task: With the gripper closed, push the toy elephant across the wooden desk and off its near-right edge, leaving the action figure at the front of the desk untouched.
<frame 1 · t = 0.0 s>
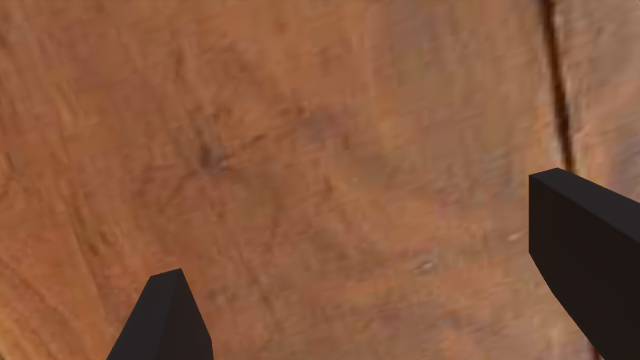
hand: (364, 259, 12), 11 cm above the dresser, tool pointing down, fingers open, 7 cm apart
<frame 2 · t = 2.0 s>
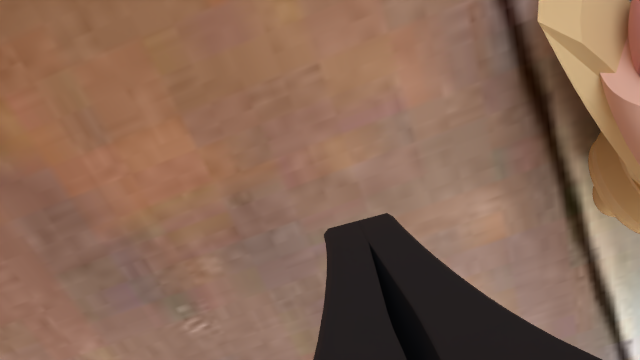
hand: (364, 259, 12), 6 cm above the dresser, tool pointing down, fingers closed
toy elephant: (630, 42, 18), on the dresser
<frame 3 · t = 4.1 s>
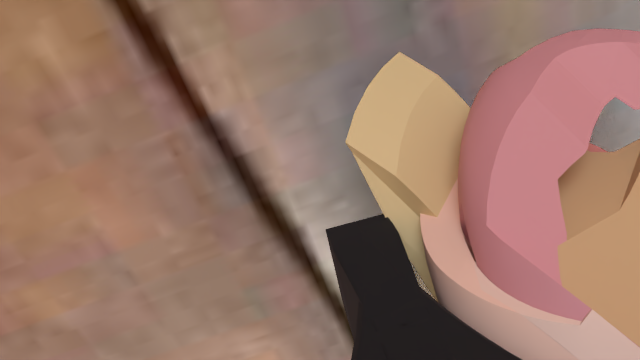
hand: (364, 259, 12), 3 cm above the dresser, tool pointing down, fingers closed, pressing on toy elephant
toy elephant: (491, 155, 15), on the dresser, touching gripper
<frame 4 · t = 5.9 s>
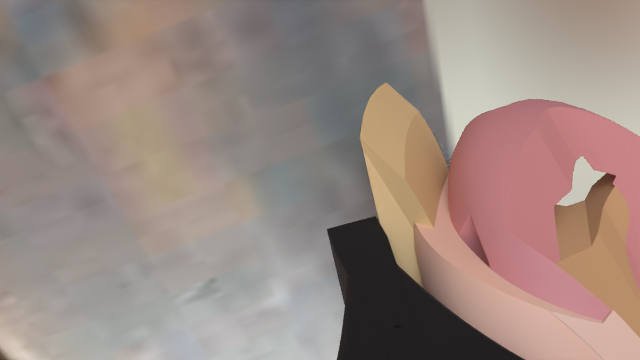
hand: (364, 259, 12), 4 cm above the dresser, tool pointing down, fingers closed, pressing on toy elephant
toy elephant: (424, 207, 16), on the dresser, touching gripper
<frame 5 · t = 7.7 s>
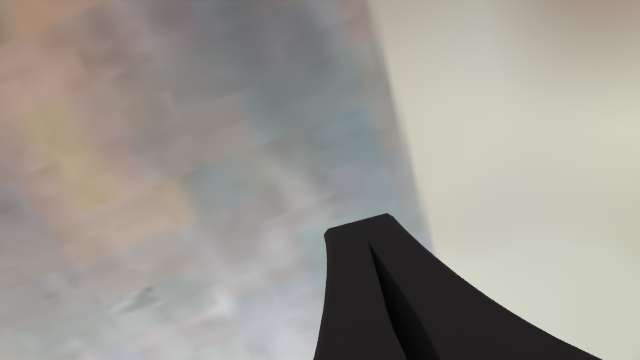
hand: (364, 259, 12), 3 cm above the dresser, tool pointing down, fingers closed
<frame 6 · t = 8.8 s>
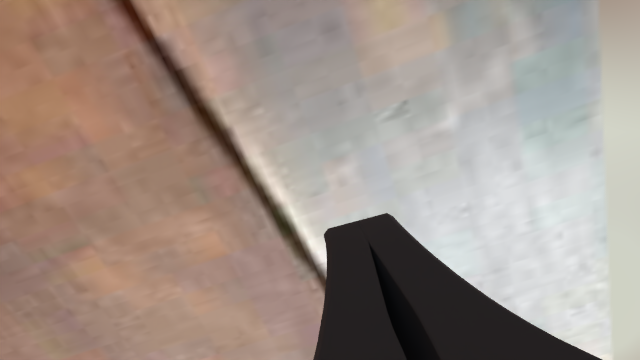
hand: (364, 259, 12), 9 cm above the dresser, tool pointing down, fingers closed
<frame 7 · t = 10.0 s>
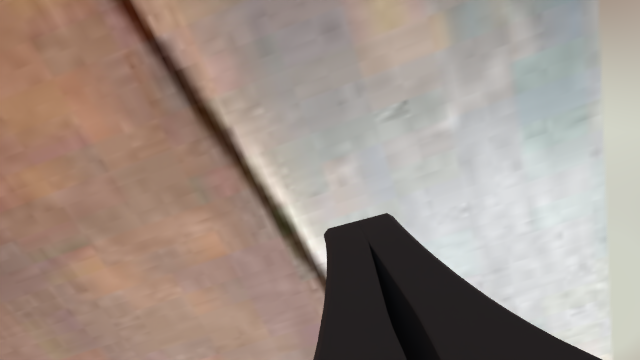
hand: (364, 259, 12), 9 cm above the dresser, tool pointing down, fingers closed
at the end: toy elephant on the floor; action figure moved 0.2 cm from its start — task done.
